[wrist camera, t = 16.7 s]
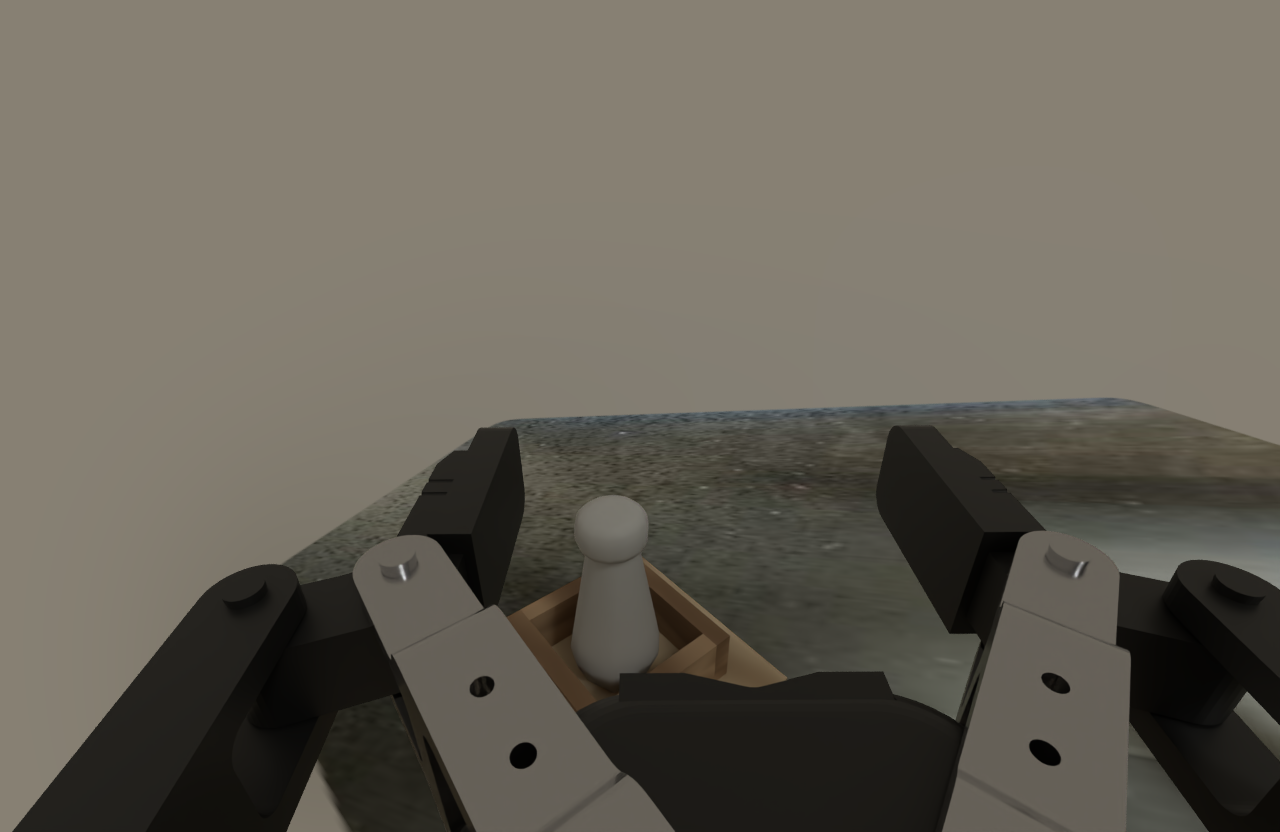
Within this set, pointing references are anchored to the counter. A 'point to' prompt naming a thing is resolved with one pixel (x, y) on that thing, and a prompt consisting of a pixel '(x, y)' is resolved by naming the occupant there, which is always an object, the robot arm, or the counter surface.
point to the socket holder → (683, 641)
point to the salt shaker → (613, 593)
